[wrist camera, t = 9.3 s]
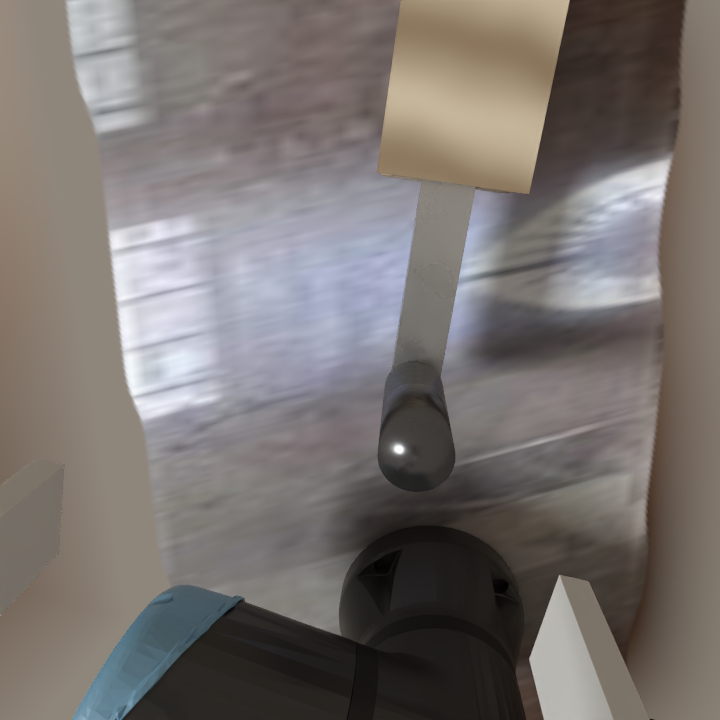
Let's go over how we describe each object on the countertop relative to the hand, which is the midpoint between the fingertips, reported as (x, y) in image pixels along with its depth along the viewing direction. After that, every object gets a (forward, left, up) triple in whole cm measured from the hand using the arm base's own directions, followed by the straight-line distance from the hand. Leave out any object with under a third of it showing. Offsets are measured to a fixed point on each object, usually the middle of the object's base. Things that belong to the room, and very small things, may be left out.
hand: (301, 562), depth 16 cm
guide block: (+16, -4, -31) cm, 35 cm away
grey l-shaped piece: (+8, -4, -25) cm, 27 cm away
